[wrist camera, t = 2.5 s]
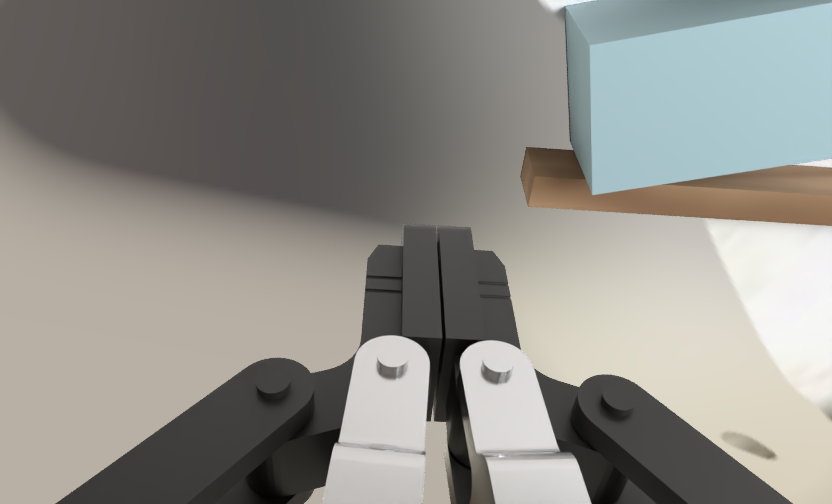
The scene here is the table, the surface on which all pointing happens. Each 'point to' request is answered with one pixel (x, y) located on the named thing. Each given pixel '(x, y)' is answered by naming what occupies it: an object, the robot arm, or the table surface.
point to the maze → (686, 192)
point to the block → (696, 88)
